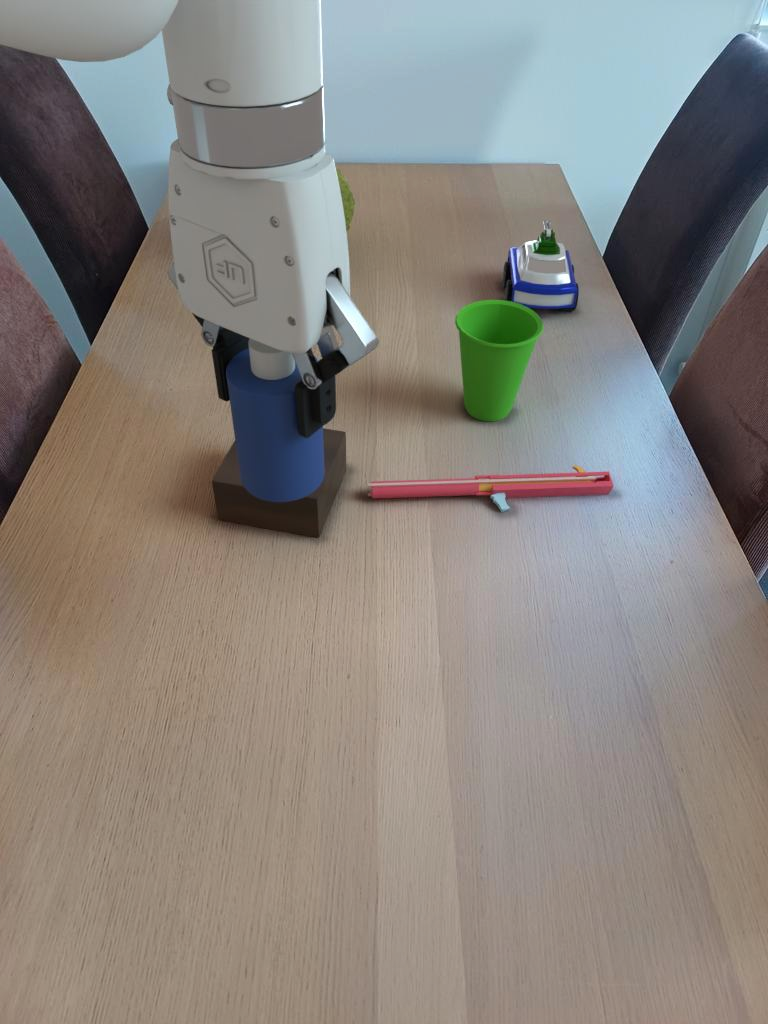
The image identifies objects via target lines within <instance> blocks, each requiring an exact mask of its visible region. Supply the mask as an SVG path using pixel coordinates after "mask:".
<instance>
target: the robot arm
mask: <svg viewBox="0 0 768 1024" xmlns="http://www.w3.org/2000/svg"><path fill="white" fill-rule="evenodd" d="M321 3H322V0H0V46H5V47H7V48H8V47H9V48H12V49H15V50H20V51H24V52H27V53H31V54H35V55H40V56H44V57H48V58H51V59H56V60H62V61H69V62H79V63H98V62H99V63H101V62H103V63H104V62H109V61H113V60H117V59H121V58H125V57H127V56H130V55H132V54H134V53H136V52H137V51H138V52H139V51H140V50H142V49H143V48H144V47H146V46H147V45H148V44H149V43H150V42H152V41H153V40H155V38H157V37H158V35H159V34H160V33H161V35H162V42H163V49H164V54H165V55H164V56H165V61H166V68H167V74H168V81H169V84H168V86H167V89H166V96H167V97H166V98H167V100H168V103H169V104H170V105H171V106H172V108H173V115H174V120H175V128H176V134H177V139H175V140H173V142H171V144H170V148H169V158H168V171H167V173H168V174H167V177H168V178H167V195H168V196H167V197H168V199H167V202H168V218H169V231H170V242H171V250H172V251H171V252H172V259H173V263H172V264H171V266H169V268H168V269H167V276H168V278H169V280H170V281H171V282H172V284H173V285H174V287H175V288H176V289H177V291H178V296H179V298H180V301H181V303H182V305H183V306H184V307H185V308H186V309H187V310H188V311H189V312H190V313H191V314H192V315H193V317H194V318H195V320H196V321H197V322H198V324H199V325H200V327H202V328H201V333H200V336H201V339H202V340H203V343H205V345H206V346H208V347H212V349H211V356H212V362H213V369H214V375H215V376H214V377H215V384H216V390H217V396H218V398H219V399H220V400H222V401H224V402H230V398H229V391H228V384H227V377H226V369H227V365H228V363H229V362H230V360H231V359H232V358H233V357H234V356H235V355H237V354H238V353H240V352H241V351H243V350H245V349H248V348H249V345H248V342H249V339H253V340H255V341H258V342H260V343H263V344H265V345H268V346H270V347H273V348H275V349H278V350H281V351H283V352H287V353H291V354H292V355H293V358H294V360H295V363H296V365H297V368H298V371H299V373H300V376H301V379H302V380H301V381H300V382H299V383H297V384H296V386H295V401H296V416H297V430H298V432H299V435H300V436H303V437H305V438H309V437H310V436H312V435H313V434H314V433H315V432H316V431H318V430H319V429H320V428H321V427H322V426H323V427H324V426H325V425H327V424H328V423H329V422H331V421H332V420H333V419H334V417H335V415H336V413H337V391H336V376H337V375H339V374H341V372H343V371H344V370H345V369H347V368H348V367H350V366H353V364H355V363H356V362H358V361H360V360H362V359H363V358H365V357H366V356H368V354H370V353H371V352H372V351H373V350H375V349H376V348H377V347H379V345H380V340H379V338H378V336H377V334H376V333H375V332H374V330H373V329H372V327H371V325H370V324H369V322H368V321H367V320H366V318H365V317H364V314H363V313H362V312H361V311H360V309H359V308H358V306H357V305H356V304H355V302H354V300H353V299H352V297H351V269H350V268H351V267H350V255H349V254H350V253H349V243H348V234H347V233H348V231H346V223H345V216H344V209H343V203H342V197H341V192H340V186H339V181H338V176H337V172H336V168H337V167H336V163H335V160H334V159H335V158H334V156H333V155H331V154H330V153H328V152H326V133H325V132H326V130H325V101H324V99H325V98H324V82H323V81H324V77H323V76H324V74H323V70H324V69H323V40H322V39H323V38H322V5H321ZM333 327H334V328H333ZM334 329H335V330H336V332H337V333H338V335H339V336H340V338H341V345H339V343H338V340H337V338H336V337H337V336H336V334H335V332H334ZM316 345H317V348H318V350H319V353H320V356H321V359H318V362H316V359H315V357H316V356H315V354H314V352H313V349H312V348H313V347H315V346H316ZM314 356H315V357H314Z"/></svg>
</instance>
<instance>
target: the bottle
mask: <svg viewBox="0 0 768 1024" xmlns="http://www.w3.org/2000/svg"><path fill="white" fill-rule="evenodd" d="M248 345H249V348H248V349H245V350H243V351H241V352H240V353H238V354H237V355H235V356H234V357H233V358H232V359H231V360H230V362H229V363H228V365H227V369H226V377H227V384H228V391H229V398H230V401H229V404H230V413H231V419H232V425H233V426H232V427H233V433H234V434H233V435H234V441H235V442H236V449H237V456H238V463H239V470H240V478H241V482H242V484H243V486H244V488H245V489H246V490H247V491H248V492H249V493H250V494H252V495H253V496H255V497H257V498H259V499H262V500H266V501H271V502H289V501H294V500H298V499H301V498H304V497H306V496H308V495H309V494H311V493H313V492H314V491H315V490H316V489H317V488H318V487H319V486H320V484H321V483H322V481H323V479H324V475H325V467H324V443H323V428H324V426H322V427H321V428H320V429H319V430H318V431H316V432H315V433H314V434H313V435H312V436H310V437H309V438H305V437H303V436H300V435H299V432H298V430H297V416H296V401H295V386H296V384H297V383H299V382H300V381H301V380H302V379H301V376H300V373H299V371H298V368H297V365H296V363H295V360H294V358H293V355H292V354H291V353H287V352H283V351H281V350H278V349H275V348H273V347H270V346H268V345H265V344H263V343H260V342H258V341H255V340H253V339H249V342H248ZM314 357H315V359H316V362H318V361H319V359H318V358H317V357H316V355H314Z"/></svg>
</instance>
